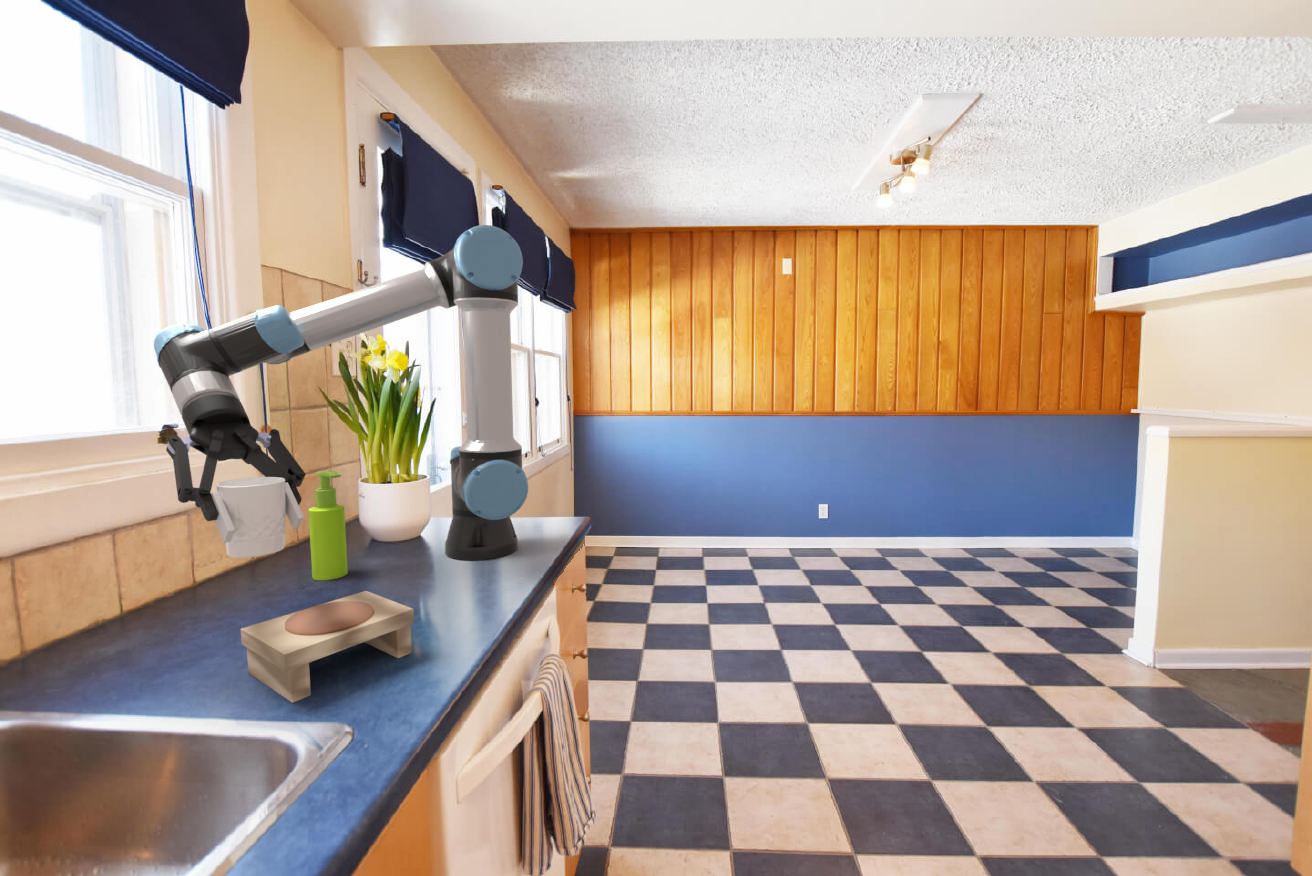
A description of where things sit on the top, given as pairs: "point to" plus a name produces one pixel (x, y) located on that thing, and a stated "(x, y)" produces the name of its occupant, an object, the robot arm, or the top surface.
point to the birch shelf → (323, 638)
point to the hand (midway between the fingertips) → (265, 529)
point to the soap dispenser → (327, 532)
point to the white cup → (255, 515)
